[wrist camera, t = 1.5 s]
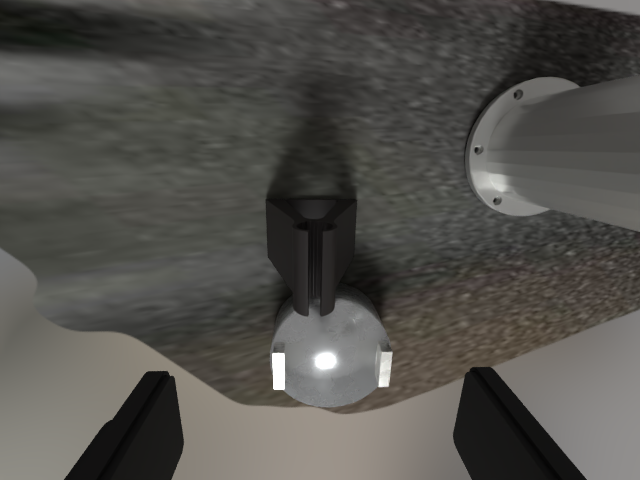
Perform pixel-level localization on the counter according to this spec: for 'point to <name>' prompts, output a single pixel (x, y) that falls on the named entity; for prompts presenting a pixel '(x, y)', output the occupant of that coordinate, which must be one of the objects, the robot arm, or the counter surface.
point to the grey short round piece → (331, 350)
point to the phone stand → (311, 246)
